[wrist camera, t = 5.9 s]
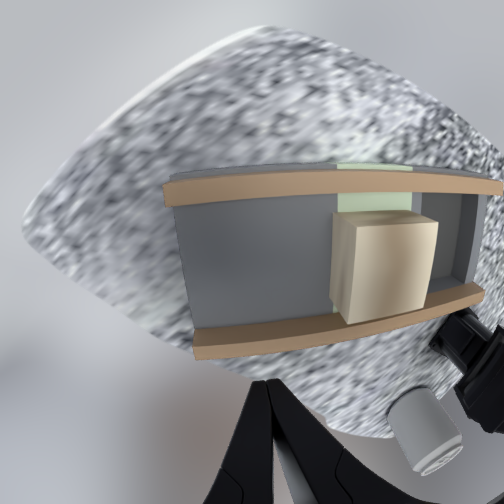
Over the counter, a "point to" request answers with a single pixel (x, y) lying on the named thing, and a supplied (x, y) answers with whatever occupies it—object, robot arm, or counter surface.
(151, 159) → the counter surface
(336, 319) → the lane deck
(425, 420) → the can
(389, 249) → the maple block
